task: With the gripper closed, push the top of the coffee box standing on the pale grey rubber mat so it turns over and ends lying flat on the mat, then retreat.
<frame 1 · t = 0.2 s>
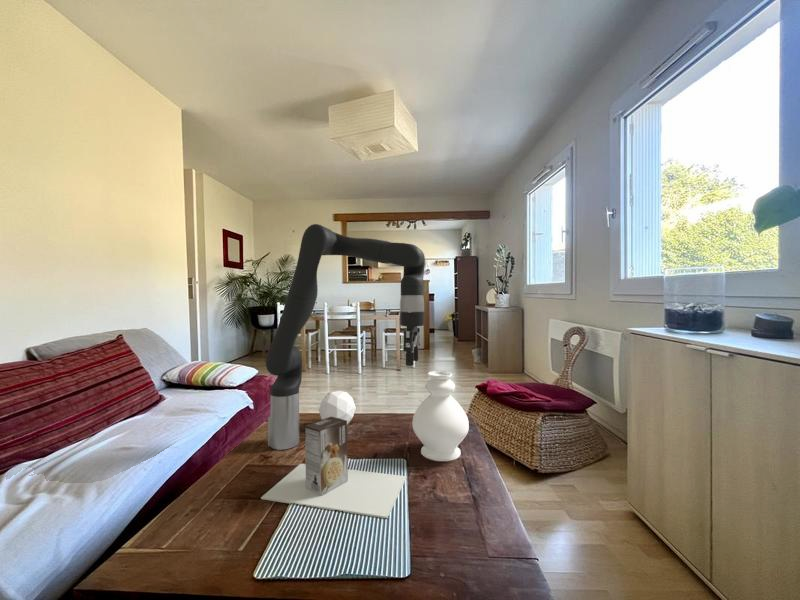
hand: (412, 363, 103), 29 cm above the table, fingers open, 8 cm apart
mat: (337, 487, 86), on the table
geodesic sphere: (337, 426, 131), on the table
coffee box: (327, 485, 87), resting on mat
decorative vase: (440, 452, 107), on the table
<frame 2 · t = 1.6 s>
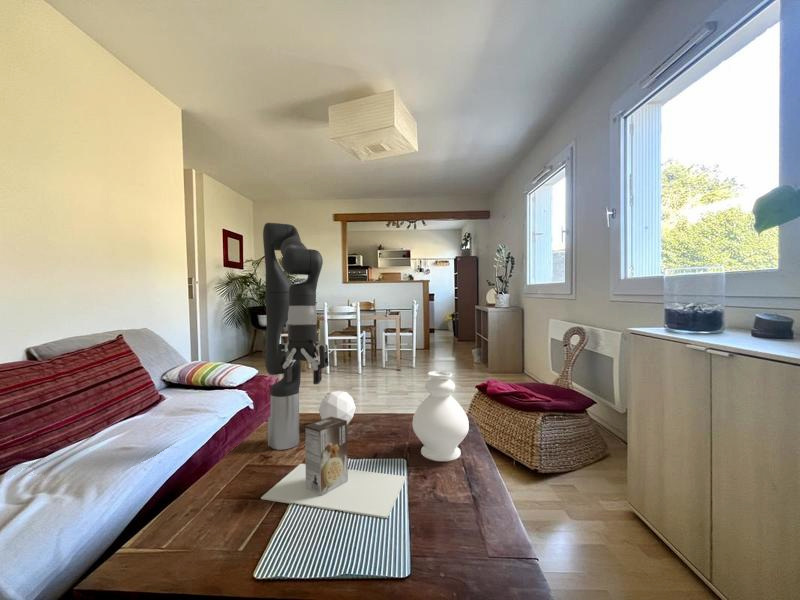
hand: (302, 382, 90), 26 cm above the table, fingers open, 8 cm apart
nothing on the table moved.
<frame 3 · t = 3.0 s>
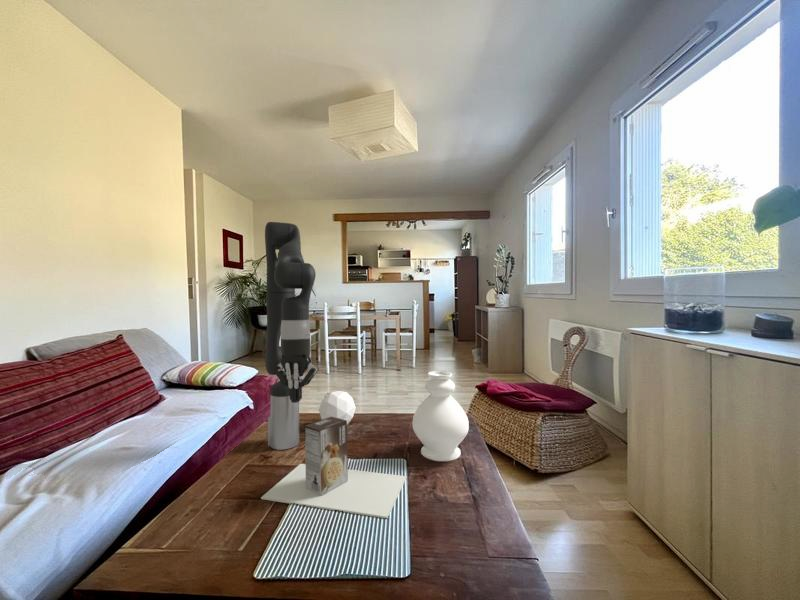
hand: (295, 401, 90), 21 cm above the table, fingers closed
nothing on the table moved.
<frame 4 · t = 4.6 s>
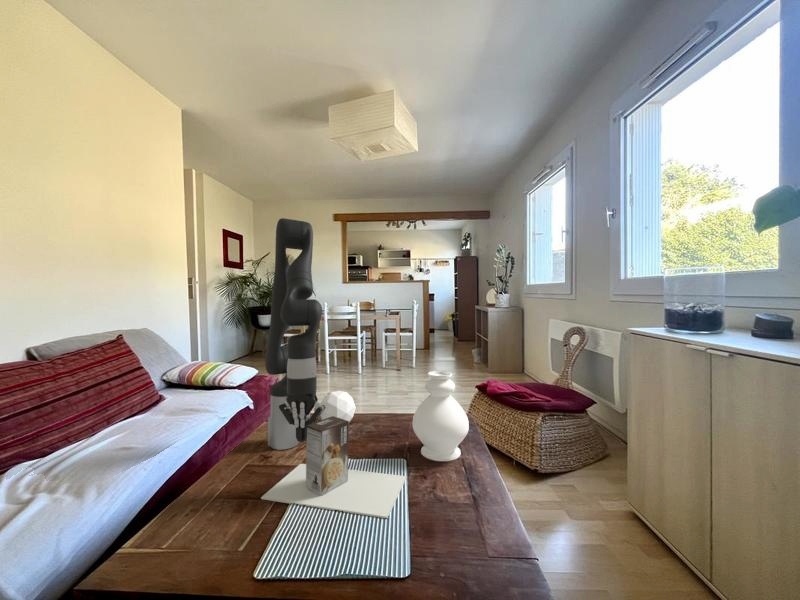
hand: (302, 440, 89), 11 cm above the table, fingers closed
coffee box: (326, 485, 87), resting on mat, touching hand
everything else where it was.
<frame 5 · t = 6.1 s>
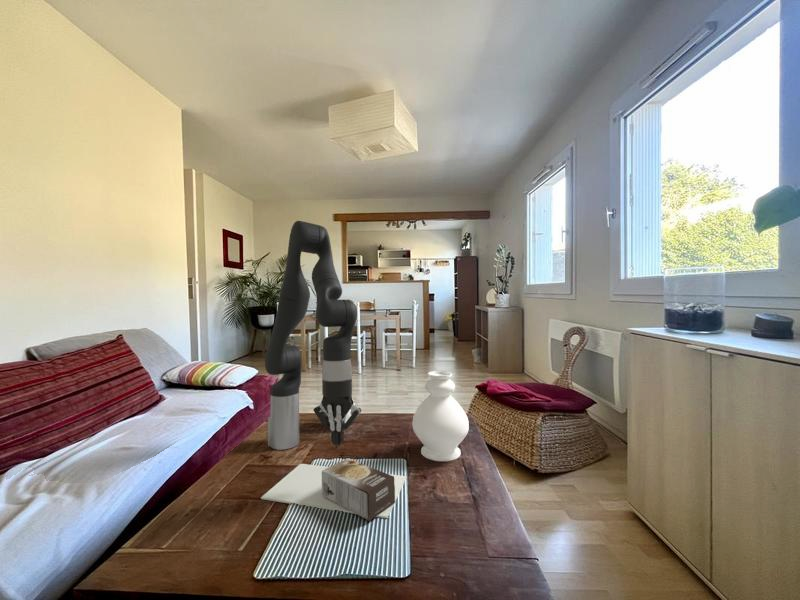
hand: (337, 444, 86), 11 cm above the table, fingers closed
coffee box: (334, 475, 85), point 4 cm above the table, touching mat
everything else where it was.
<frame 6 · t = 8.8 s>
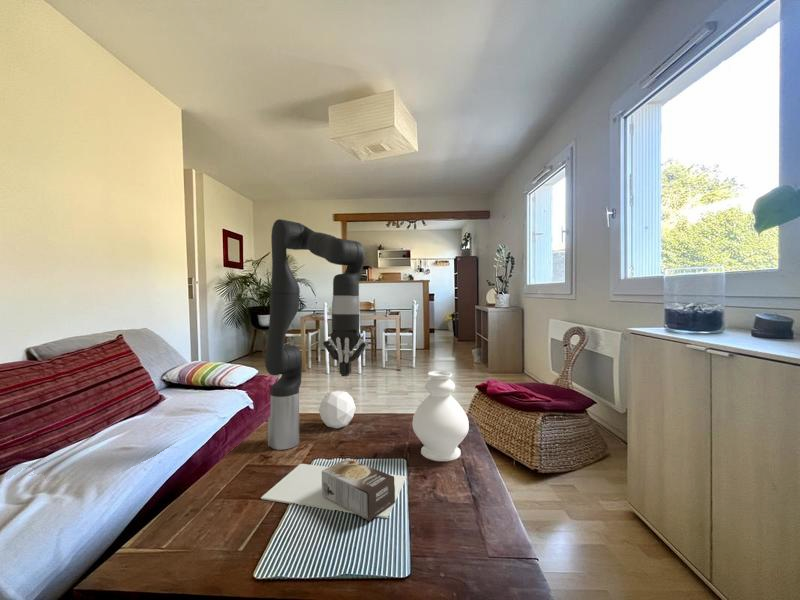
hand: (345, 375, 92), 28 cm above the table, fingers closed
nothing on the table moved.
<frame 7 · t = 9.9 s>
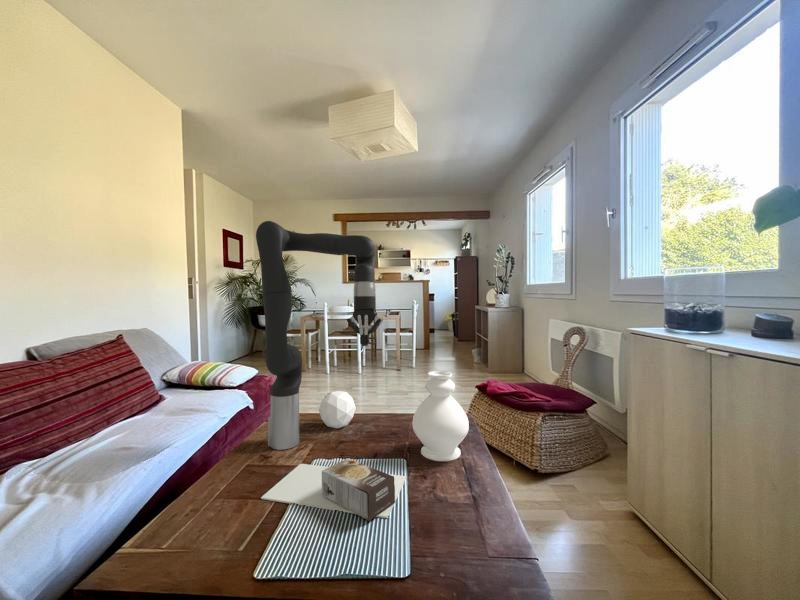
hand: (365, 345, 116), 33 cm above the table, fingers closed
nothing on the table moved.
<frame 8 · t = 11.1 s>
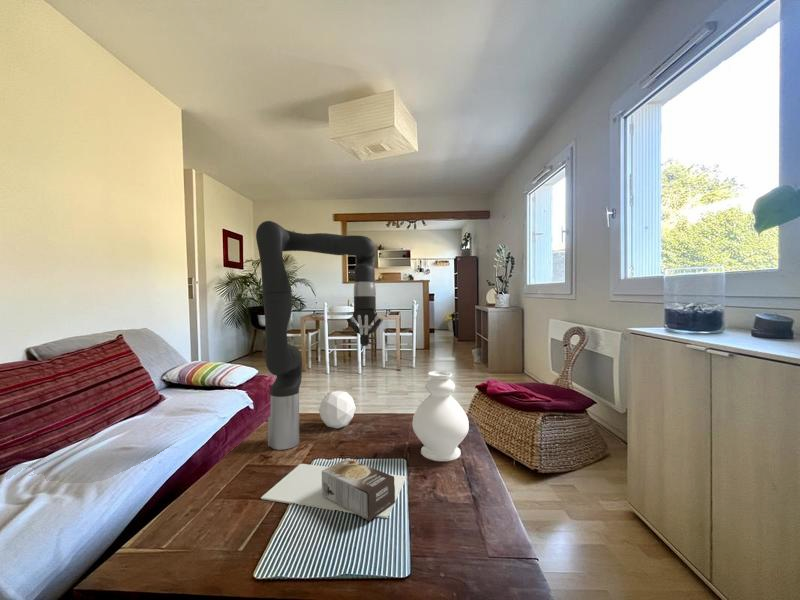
hand: (365, 345, 116), 33 cm above the table, fingers closed
nothing on the table moved.
at the end: coffee box tilted 90°; coffee box inside the target area (1.2 cm from its centre), point 3.6 cm above the table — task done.
